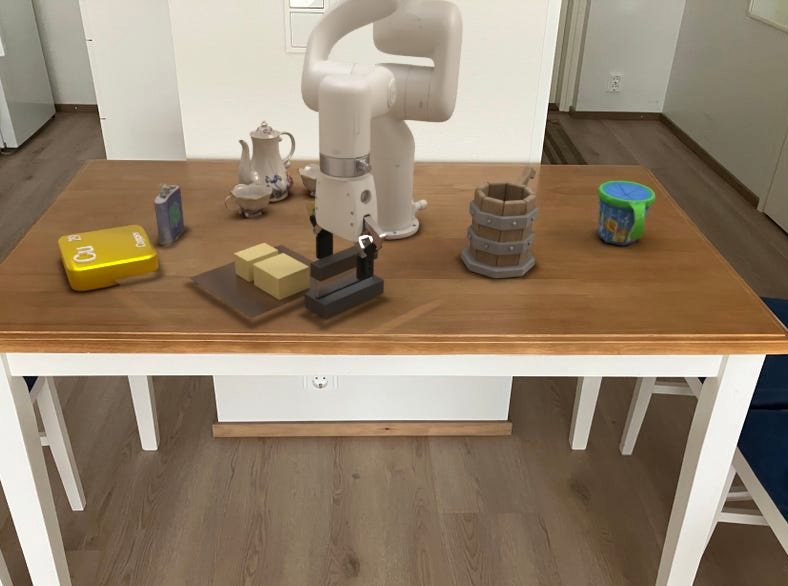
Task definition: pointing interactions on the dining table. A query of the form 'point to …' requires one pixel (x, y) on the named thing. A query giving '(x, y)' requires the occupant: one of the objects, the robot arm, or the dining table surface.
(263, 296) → the cutting board
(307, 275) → the butter
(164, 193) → the flask
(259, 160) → the chinaware
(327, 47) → the robot arm
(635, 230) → the snack cup
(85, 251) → the element tile
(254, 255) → the butter slice
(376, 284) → the scraper stand
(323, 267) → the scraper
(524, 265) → the tankard
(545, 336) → the dining table surface
